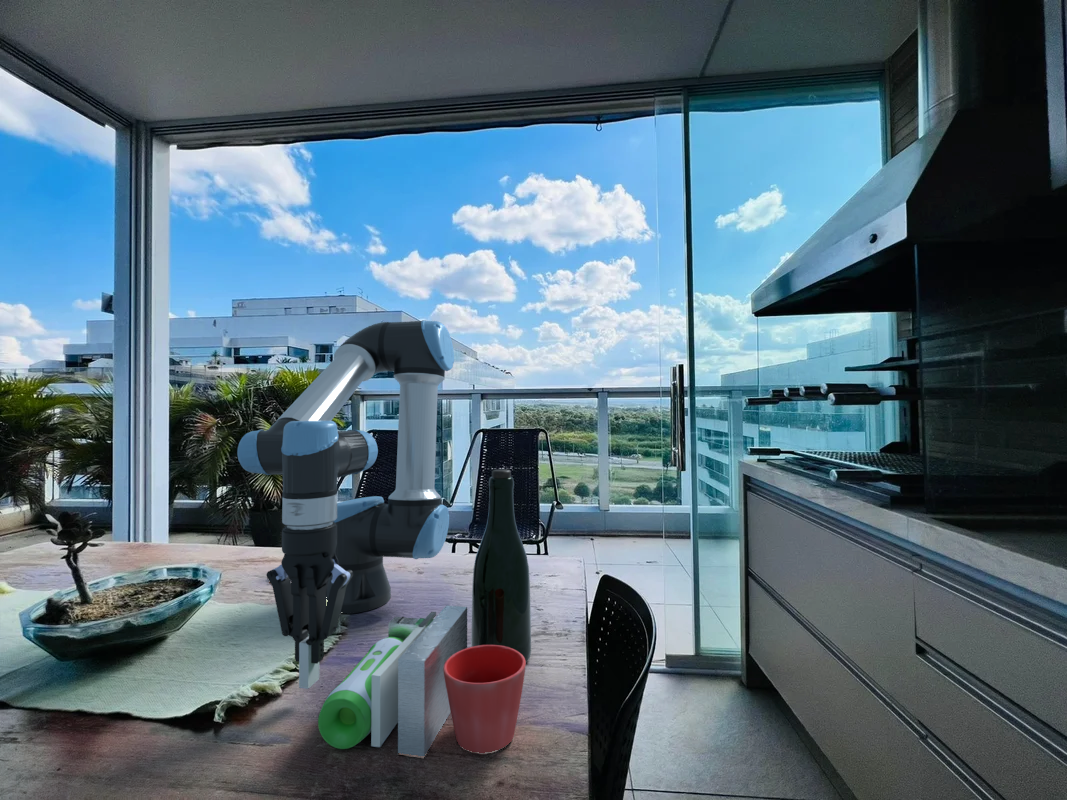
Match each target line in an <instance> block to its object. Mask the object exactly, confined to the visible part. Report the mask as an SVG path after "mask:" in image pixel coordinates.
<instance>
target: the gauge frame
mask: <svg viewBox="0 0 1067 800" xmlns="http://www.w3.org/2000/svg"><path fill="white" fill-rule="evenodd" d="M425 618H426V617H424V618H421V617H419V618H418V617H417V618H416V617H405V616H394V617H393V618H392V619H391V620H390V621H389V622H388V635H387V636H388V637H398V638H400V639H402V640H405V639H406V638H407V637H408V636H409V635H410V634H411V633H412V632H413V631H414V630H415V629H416V628H417V626H418V625H419V624H420V623H421V622H422V621H423V620H424V619H425ZM466 648H468V606H461V605H460V606H459V605H445V607H443V609H442V610H441V611H440V612H439V613H438V614H436V616H435V617H434V618H433V620H432V621H431V622H430V623H429V624H428V625H427V626H426V629H425V630H424V631H423V632H422V633H421V634H420V635H419V637H418V638H417V639H416V640H415V641H414V642H413V643H412V644H411V646H410V647H409V648H408V649H407V650H406V651H405V652H404V653H403V654H402V656H401V657H400V658H399V659H398V723H397V754H398V753H401V754H402V753H403V754H409V755H410V754H411V755H418V756H425V754H426V753H427V751H428V749H429V748H430V746H431V744H432V742H433V741H434V739H435V737H436V735H437V734H438V732H439V731H440V732H441V730H442V728H443V727H444V725H443V724H445V723H446V721H447V720H446V719H448V717H449V716H450V715H451V711H450V705H449V700H448V694H447V689H446V683H445V678H444V671H443V669H444V664H445V662H446V661H447V660H448V659H449V658H450V657H451V656H452V655H453V654H455V653H457V652H459V651H461V650H463V649H466ZM442 726H443V727H442ZM440 729H441V730H440ZM440 732H439V733H440ZM438 735H439V734H438ZM436 738H437V737H436ZM435 740H436V739H435ZM434 742H435V741H434ZM432 745H433V744H432ZM431 747H432V746H431ZM430 749H431V748H430ZM428 752H429V751H428ZM427 754H428V753H427Z"/></svg>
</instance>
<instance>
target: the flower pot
mask: <svg viewBox="0 0 1067 800" xmlns="http://www.w3.org/2000/svg"><path fill="white" fill-rule="evenodd" d="M526 665H527V663H526V661H525V658H524V656H523V655H522V654H521V653H520V652H518V651H516V650H514V649H512V648H509V647H505V646H500V645H480V646H474V647H471V646H470V647H467V648H466V649H463V650H461V651H459V652H457V653H455V654H453V655H452V656H451V657H450V658H449V659H448V660H447V661H446V662H445V664H444V669H443V671H444V678H445V683H446V689H447V694H448V700H449V705H450V711H451V712H450V717H451V719H452V720H451V721H452V725H453V730H454V735H455V740H456V742H458V743H457V744H458V746H459V745H460V746H461V747H463V748H464V749H466V750H469V751H472V752H479V753H485V752H492V751H495V750H499V749H501V748H503V747H505V746H506V745H508V744H509V743H510V742H511V743H512V741H513V740H514V737H515V733H516V727H517V722H518V718H519V712H520V706H521V701H522V700H521V699H522V693H523V687H524V681H525V680H524V679H525V673H526ZM512 739H513V740H512ZM511 743H510V744H511ZM510 744H509V745H510ZM509 745H508V746H509ZM460 746H459V747H460ZM461 747H460V748H461ZM505 748H506V747H505ZM464 749H463V750H464Z"/></svg>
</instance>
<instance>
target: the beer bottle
mask: <svg viewBox="0 0 1067 800" xmlns="http://www.w3.org/2000/svg"><path fill="white" fill-rule="evenodd" d="M511 472H512V471H511V470H510V469H505V468H504V469H500V468H499V469H493V470H491V476H490V477H489V480H488V487H489V489H488V490H489V497H488V498H489V499H488V500H489V501H488V515H487V521H486V525H485V529H484V532H483V535H482V538H481V541H480V544H479V546H478V549H477V552H476V555H475V559H474V565H473V570H472V571H473V572H472V573H473V574H472V585H471V586H472V589H471V592H472V593H471V632H470V633H471V634H470V635H471V638H470V641H471V643H470V644H471V645H470V647H474V646H480V645H500V646H505V647H509V648H512V649H514V650H516V651H518V652H520V653H521V654H522V655H523V656H524V658H525V661H526V664H527V663H528V662H529V660H530V658H531V655H532V654H531V653H532V618H531V617H532V616H531V615H532V614H531V613H532V610H531V608H532V607H531V605H532V604H531V579H530V565H529V561H528V555H527V553H526V550H525V546H524V544H523V541H522V539H521V537H520V533H519V530H518V528H517V523H516V517H515V507H514V506H515V505H514V486H515V482H514V478H513V477H512V476H511V475H512V473H511Z"/></svg>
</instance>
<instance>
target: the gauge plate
mask: <svg viewBox="0 0 1067 800" xmlns="http://www.w3.org/2000/svg"><path fill="white" fill-rule="evenodd" d="M436 617H437V611H431V612H430V613H429V614H428V615H427V616H426V617H424V618H425V619H424V620H423V621H422V622H421V623H420V624H419V625H418V626H417V628H416V629H415V630H414V631H413V632H412V633H411V634H410V635H409V636H408V637H407V638H406V639H405V640H404V641H403V642H402V643H401V644H400V646H399V647H398V648H397V649H396V650H395V651H394V652H393V653H392V654H391V655H390V656H389V657H388V658H387V659H386V660H385V661H384V663H383V664H382V665H381V666H380V667H379V668H378V669H377V670H376V671H375V672H374V673H373V674H372V698H371V732H370V733H371V734H370V735H371V741H370V742H371V743H370V746H371V747H375V748H381V747H382V745H383V744H384V742H385V741H386V740H387V738H388V737H389V735H390V734H391V732H392V731H393V729H395V728H396V725H398V659H399V658H400V657H401V656H402V654H403V653H404V652H405V651H406V650H407V649H408V648H409V647H410V646H411V644H412V643H413V642H414V641H415V640H416V639H417V638H418V637H419V635H420V634H421V633H422V632H423V631H424V630H425V629H426V626H427V625H428V624H429V623H430V622H431V621H432V620H433V619H435V618H436Z"/></svg>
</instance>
